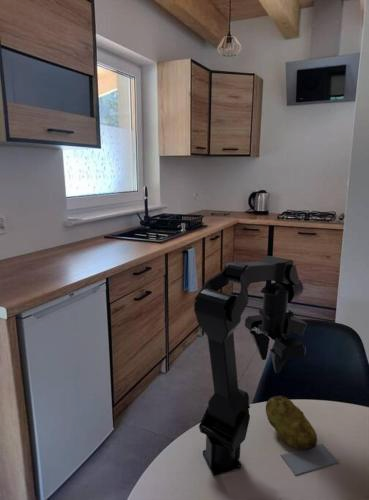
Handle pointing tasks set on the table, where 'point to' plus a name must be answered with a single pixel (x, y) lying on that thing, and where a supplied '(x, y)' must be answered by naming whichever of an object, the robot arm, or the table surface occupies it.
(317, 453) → the mat
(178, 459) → the table surface
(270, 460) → the table surface
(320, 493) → the table surface
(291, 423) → the potato
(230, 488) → the table surface
